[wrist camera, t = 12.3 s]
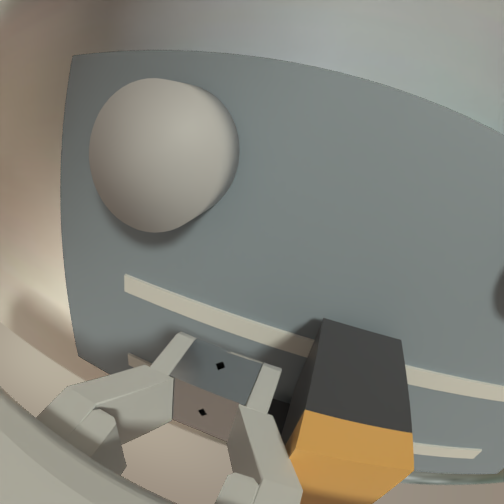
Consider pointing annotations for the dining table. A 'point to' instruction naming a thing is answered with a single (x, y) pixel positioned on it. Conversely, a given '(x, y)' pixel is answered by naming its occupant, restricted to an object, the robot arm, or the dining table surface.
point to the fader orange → (350, 417)
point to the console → (288, 228)
